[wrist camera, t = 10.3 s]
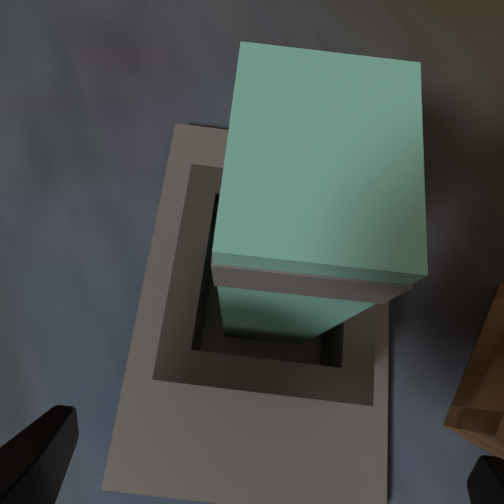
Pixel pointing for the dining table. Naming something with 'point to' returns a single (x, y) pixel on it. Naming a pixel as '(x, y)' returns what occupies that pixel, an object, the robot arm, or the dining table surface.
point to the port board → (240, 377)
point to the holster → (483, 387)
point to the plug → (318, 191)
